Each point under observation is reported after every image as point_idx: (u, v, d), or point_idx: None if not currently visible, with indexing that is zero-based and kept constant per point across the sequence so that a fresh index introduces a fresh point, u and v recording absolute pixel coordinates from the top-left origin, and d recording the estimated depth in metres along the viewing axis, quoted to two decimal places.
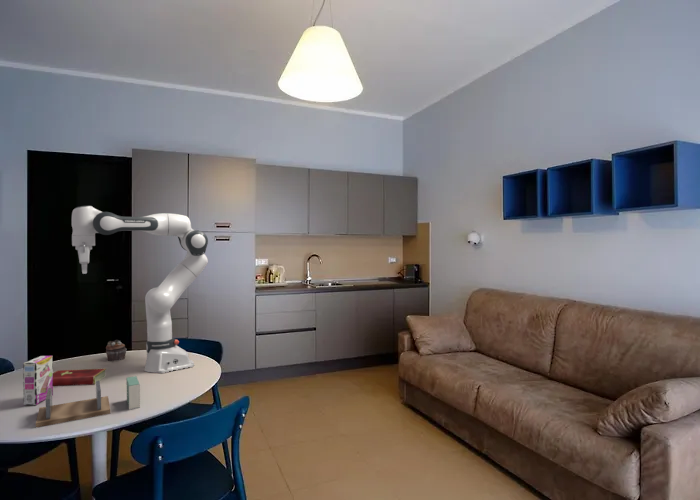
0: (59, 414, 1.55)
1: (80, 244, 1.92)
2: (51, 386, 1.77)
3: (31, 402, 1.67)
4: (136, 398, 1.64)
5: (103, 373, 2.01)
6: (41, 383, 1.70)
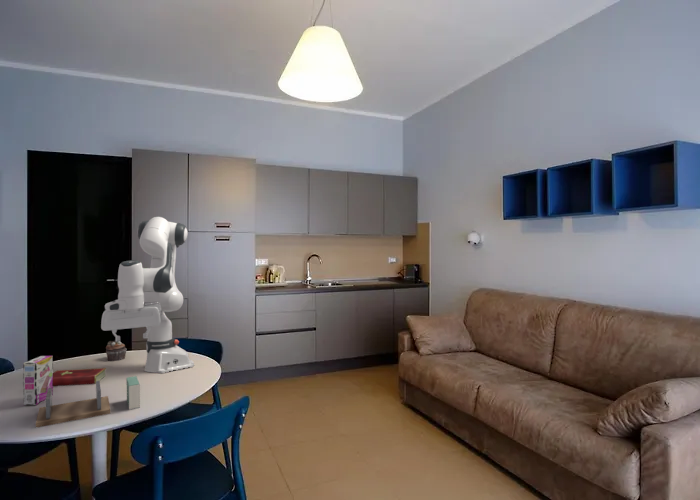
0: (59, 414, 1.55)
1: (143, 305, 1.68)
2: (51, 386, 1.77)
3: (31, 402, 1.67)
4: (136, 398, 1.64)
5: (103, 373, 2.01)
6: (41, 383, 1.70)
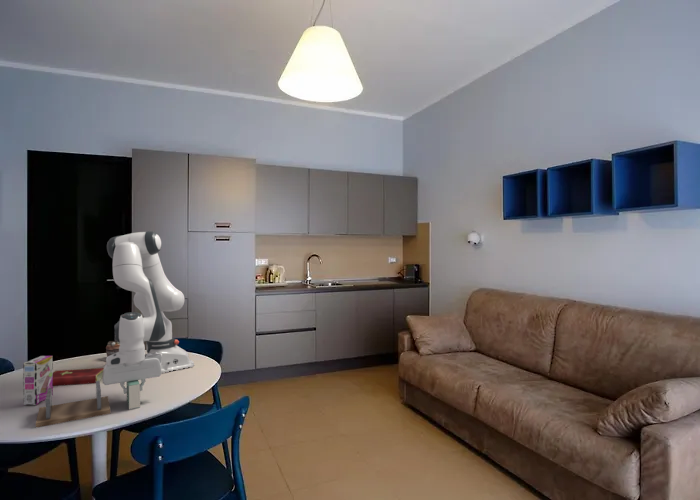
0: (59, 414, 1.55)
1: (144, 357, 1.69)
2: (51, 386, 1.77)
3: (31, 402, 1.67)
4: (136, 398, 1.64)
5: None
6: (41, 383, 1.70)
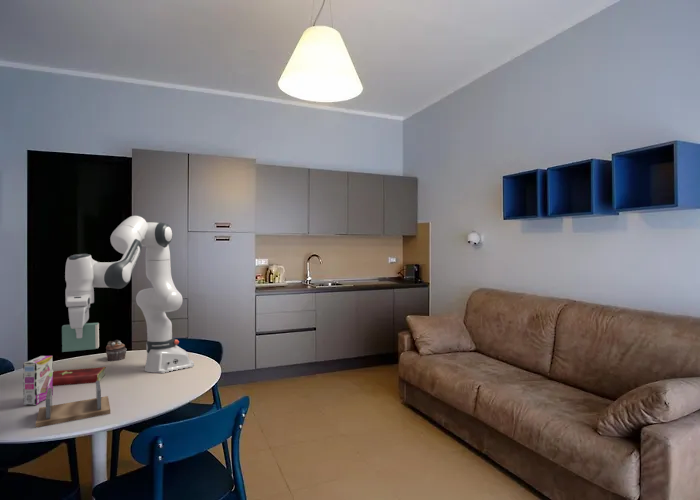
0: (59, 414, 1.55)
1: None
2: (51, 386, 1.77)
3: (31, 402, 1.67)
4: (98, 337, 1.63)
5: (103, 371, 2.03)
6: (41, 383, 1.70)
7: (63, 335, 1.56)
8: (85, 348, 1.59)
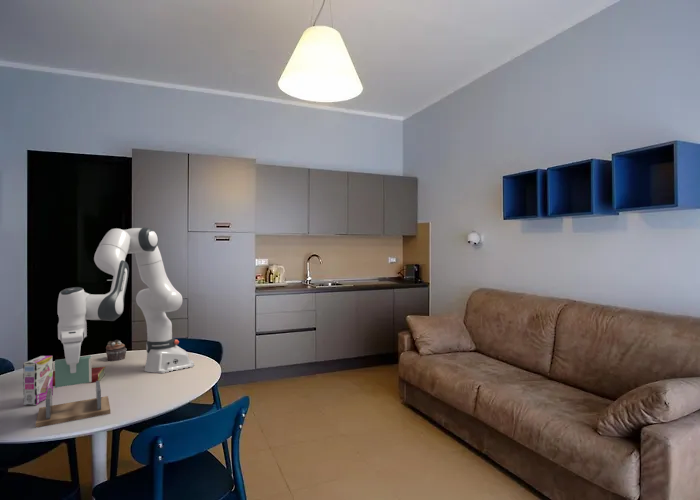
0: (59, 414, 1.55)
1: None
2: (51, 386, 1.77)
3: (31, 402, 1.67)
4: None
5: (103, 371, 2.04)
6: (41, 383, 1.70)
7: (56, 370, 1.55)
8: (78, 382, 1.59)
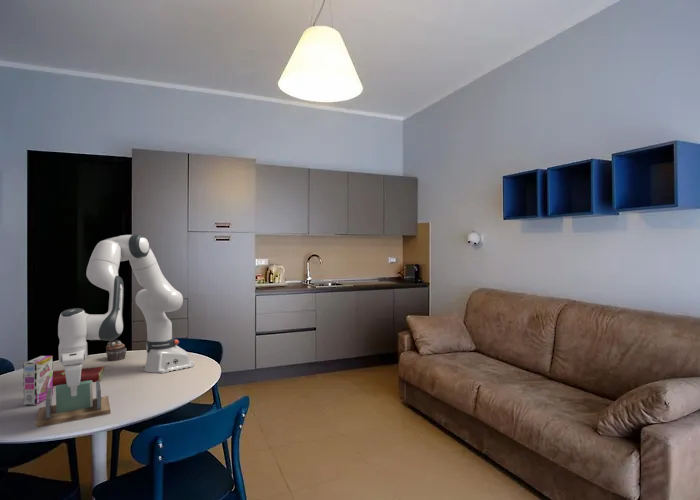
0: (59, 414, 1.55)
1: None
2: (51, 386, 1.77)
3: (31, 402, 1.67)
4: None
5: (103, 371, 2.04)
6: (41, 383, 1.70)
7: (57, 396, 1.56)
8: (80, 407, 1.59)
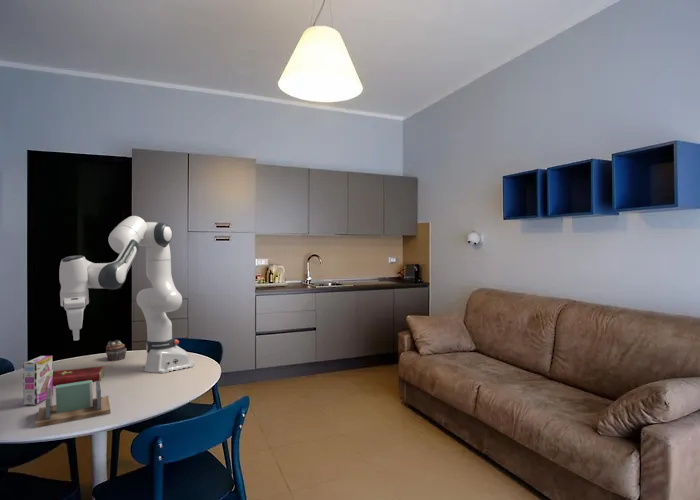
0: (59, 414, 1.55)
1: None
2: (51, 386, 1.77)
3: (31, 402, 1.67)
4: None
5: (103, 370, 2.05)
6: (41, 383, 1.70)
7: (57, 396, 1.56)
8: (80, 407, 1.59)
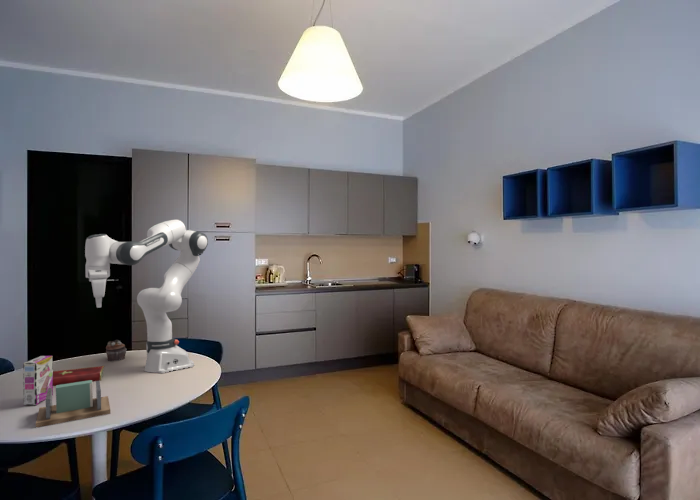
0: (59, 414, 1.55)
1: None
2: (51, 386, 1.77)
3: (31, 402, 1.67)
4: None
5: (102, 370, 2.05)
6: (41, 383, 1.70)
7: (57, 396, 1.56)
8: (80, 407, 1.59)
